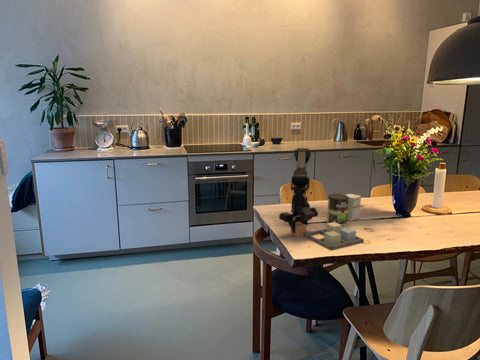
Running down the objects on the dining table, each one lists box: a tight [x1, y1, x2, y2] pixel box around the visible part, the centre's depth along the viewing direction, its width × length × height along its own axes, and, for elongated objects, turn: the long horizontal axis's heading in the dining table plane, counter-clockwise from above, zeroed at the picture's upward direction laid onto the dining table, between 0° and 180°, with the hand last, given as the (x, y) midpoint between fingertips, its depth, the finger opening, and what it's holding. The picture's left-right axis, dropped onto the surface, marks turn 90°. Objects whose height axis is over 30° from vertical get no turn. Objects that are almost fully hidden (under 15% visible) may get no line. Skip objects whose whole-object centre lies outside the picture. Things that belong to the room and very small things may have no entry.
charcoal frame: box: [303, 222, 365, 251], centre depth 177 cm, size 19×19×5 cm
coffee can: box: [326, 193, 349, 227], centre depth 199 cm, size 10×10×14 cm
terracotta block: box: [290, 222, 307, 238], centre depth 183 cm, size 5×5×5 cm
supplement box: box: [345, 193, 362, 222], centre depth 206 cm, size 7×7×13 cm
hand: (298, 232), depth 183 cm, fingers closed on terracotta block, 5 cm apart
